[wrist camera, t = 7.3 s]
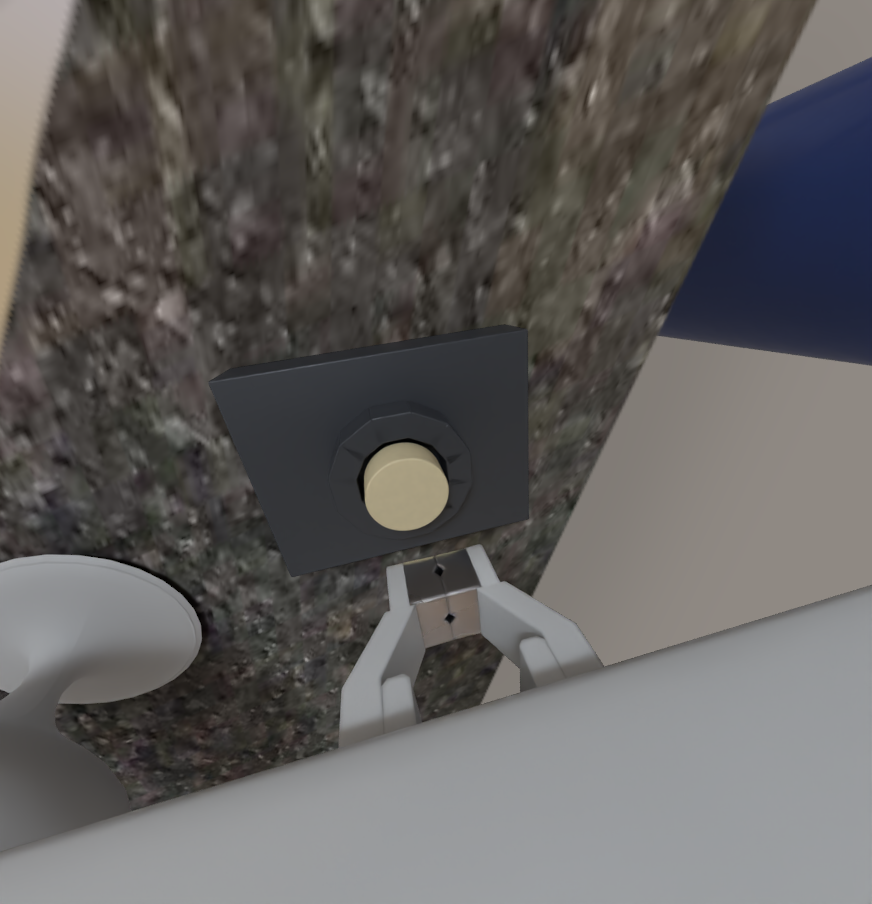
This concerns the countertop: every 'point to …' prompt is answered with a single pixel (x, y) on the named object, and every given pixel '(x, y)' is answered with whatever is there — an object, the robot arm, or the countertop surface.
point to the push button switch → (405, 487)
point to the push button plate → (382, 438)
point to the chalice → (76, 680)
